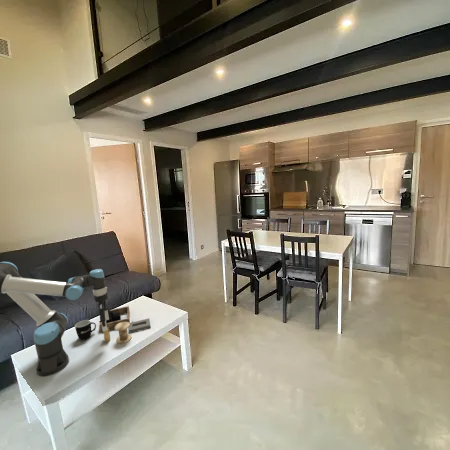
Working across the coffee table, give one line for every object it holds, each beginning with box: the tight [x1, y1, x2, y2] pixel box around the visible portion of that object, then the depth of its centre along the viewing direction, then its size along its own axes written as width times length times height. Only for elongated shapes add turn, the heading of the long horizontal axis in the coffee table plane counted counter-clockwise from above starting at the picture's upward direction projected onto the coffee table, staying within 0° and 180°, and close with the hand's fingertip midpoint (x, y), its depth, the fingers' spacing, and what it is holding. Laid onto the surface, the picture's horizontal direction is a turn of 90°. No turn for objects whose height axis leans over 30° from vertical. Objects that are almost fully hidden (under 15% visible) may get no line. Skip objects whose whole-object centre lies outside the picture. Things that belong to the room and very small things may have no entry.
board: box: [128, 317, 152, 334], centre depth 176 cm, size 14×10×2 cm
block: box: [102, 327, 111, 343], centre depth 162 cm, size 3×3×8 cm
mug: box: [74, 319, 97, 341], centre depth 168 cm, size 12×9×10 cm
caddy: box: [98, 305, 131, 333], centre depth 185 cm, size 19×21×5 cm
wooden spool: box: [114, 322, 132, 345], centre depth 162 cm, size 9×9×10 cm
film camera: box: [106, 309, 122, 323], centre depth 184 cm, size 15×10×9 cm, turn 21°
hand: (106, 325), depth 161 cm, fingers open, 13 cm apart
